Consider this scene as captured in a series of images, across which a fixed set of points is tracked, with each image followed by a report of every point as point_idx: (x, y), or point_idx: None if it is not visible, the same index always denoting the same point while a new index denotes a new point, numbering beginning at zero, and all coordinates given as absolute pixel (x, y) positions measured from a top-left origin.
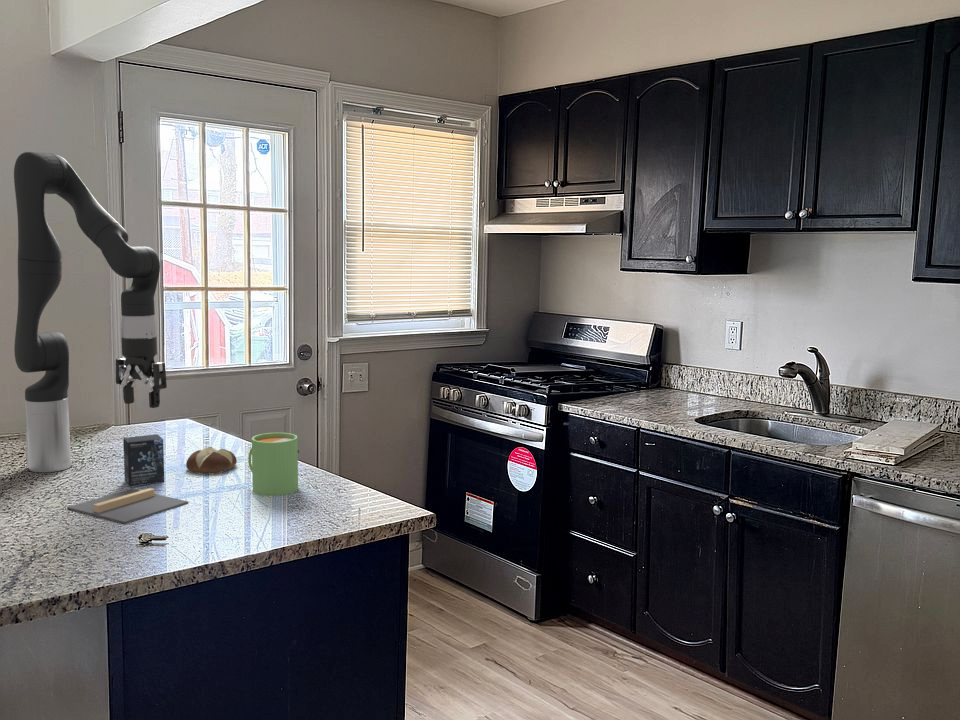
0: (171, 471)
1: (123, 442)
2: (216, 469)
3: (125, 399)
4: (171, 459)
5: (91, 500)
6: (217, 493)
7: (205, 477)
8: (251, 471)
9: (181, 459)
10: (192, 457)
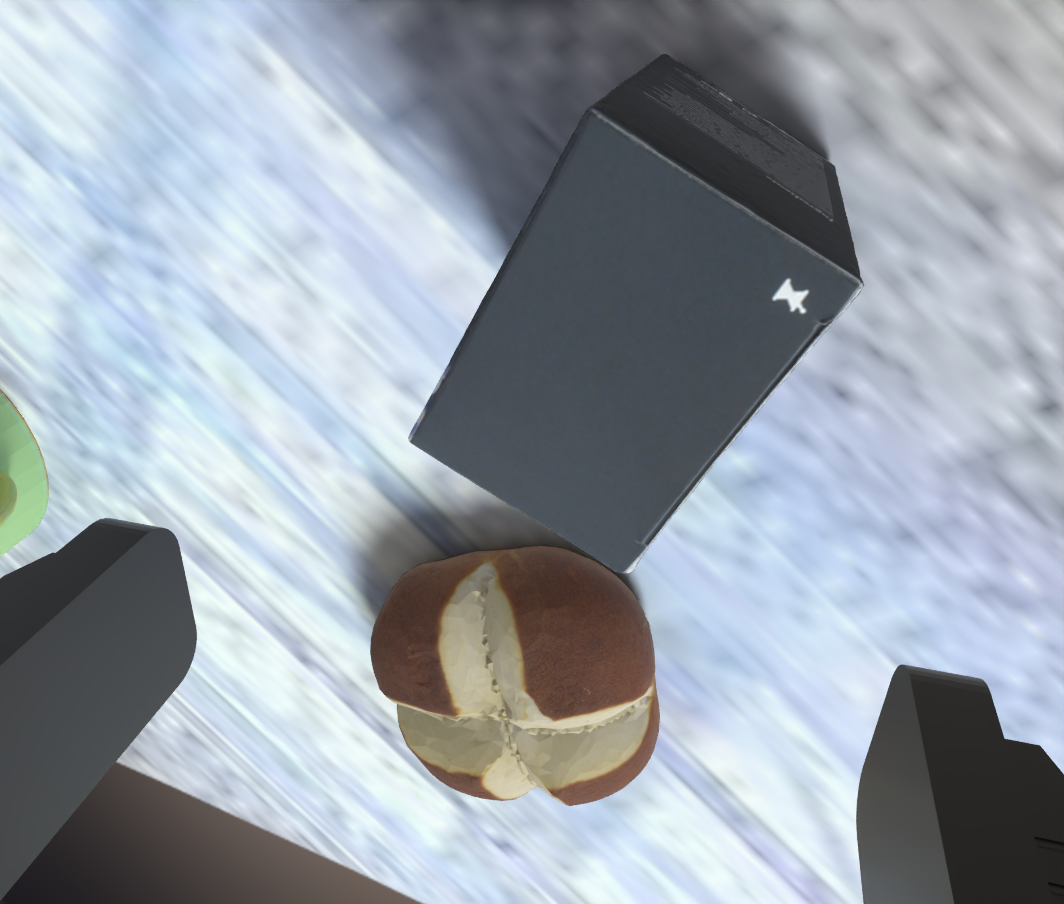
0: (702, 521)
1: (850, 257)
2: (396, 584)
3: (937, 730)
4: None
5: None
6: (65, 245)
7: (401, 487)
8: (7, 492)
9: (857, 754)
10: (548, 624)
